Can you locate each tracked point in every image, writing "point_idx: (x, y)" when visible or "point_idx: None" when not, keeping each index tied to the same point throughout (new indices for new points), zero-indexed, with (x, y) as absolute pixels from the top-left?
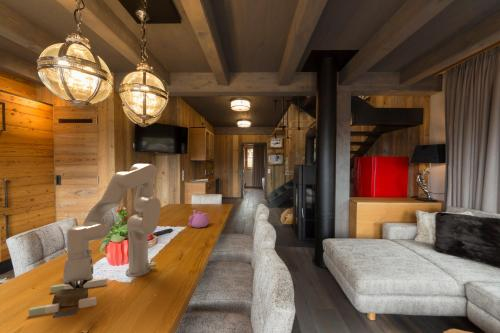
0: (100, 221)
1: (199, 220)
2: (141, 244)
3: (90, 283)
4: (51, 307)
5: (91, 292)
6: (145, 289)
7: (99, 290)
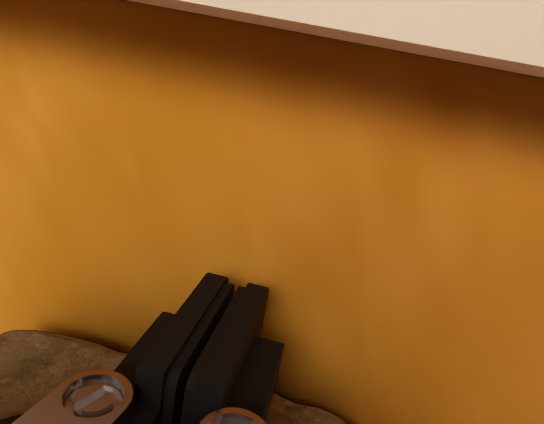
0: None
1: None
2: None
3: (397, 44)
4: None
5: (408, 255)
6: None
7: (539, 261)
